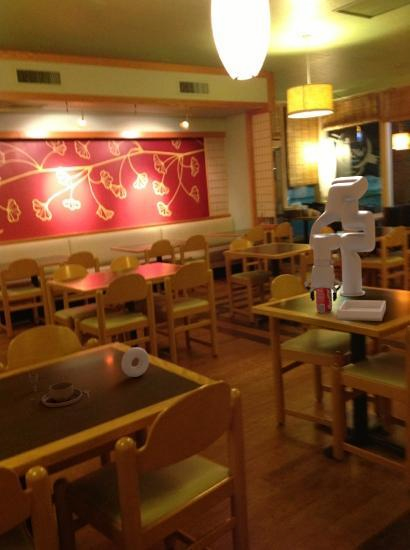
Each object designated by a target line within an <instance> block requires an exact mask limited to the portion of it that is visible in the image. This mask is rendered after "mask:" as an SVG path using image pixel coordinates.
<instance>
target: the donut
mask: <svg viewBox="0 0 410 550" xmlns="http://www.w3.org/2000/svg"><path fill="white" fill-rule="evenodd" d="M135 358H138V364H137V365H136V366H133V365H132V364H133V363H132V362H133V360H134V359H135ZM149 364H150V358H149V354H148V353H147V351H146V350H145V349H144V348H142V347H140V346H139V347H137V346H136V347H131V348H129V349H128V350H127V351H125V352H124V354H123V356H122V359H121V370H122V371H123V372H124V374H125V375H127V376H128V377H130V378H137V377H140V376H141V375H143V374H144V373H145V372H146V371H147V370H148V368H149V366H150V365H149Z"/></svg>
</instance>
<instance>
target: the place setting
mask: <svg viewBox="0 0 410 550" xmlns="http://www.w3.org/2000/svg"><path fill="white" fill-rule="evenodd" d="M28 377H29V381H30V383H31V384H32V386H33V387H32V389H33V392H37V391H38V390H37V383H38V379H39V378H38V374H37V373H30V374H29V375H28ZM48 390H49V392H48V393H46V394H45V395H43V396H42V397H41V401H42V404H43V405H44V406H46V407H50V408H60V407H61V408H62V407H65V406H70V405H73V404H75V403H77V402H78V401H80V400H81V399H82V397H83V394H85V395H86V396H87V398H91V397H90V395H89V393H90V390H89V388H84V390H81V389H79V388H74V385H73V383H72V382H71V381H60V382H57V383H54V384H52V385H51V384H50V386H49V387H48ZM73 394H75V395H77V397H76V398H74V399H70V398H71V397H72V396H73ZM50 398H51V399H53V400H54V401H55V402H56V403H55V402H54V403H52V402H46V401H47V400H49V399H50ZM69 399H70V400H69ZM32 400H36V398H35V397H33V398H30V401H32Z"/></svg>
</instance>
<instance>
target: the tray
mask: <svg viewBox="0 0 410 550" xmlns="http://www.w3.org/2000/svg"><path fill="white" fill-rule="evenodd" d="M386 310H387V301H386V300H366V299H363V300H359V299H357V300H356V299H344V301H342V303H341V305H340V306H339V307H338V308H337V310H336V311H337V312H336V315H337V316H336V318H337V320H339V321H340V320H341V321H342V320H343V321H374V322H375V321H376V322H382V321H383V318H384V316H385V313H386Z"/></svg>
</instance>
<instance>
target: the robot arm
mask: <svg viewBox="0 0 410 550" xmlns="http://www.w3.org/2000/svg"><path fill="white" fill-rule="evenodd" d="M368 188H369V182H368V179H367V177H365V176H361V175H360V176H359V175H356V176H344V177H343V176H342V177H337V178H334V179H333V180H332V182H331V186H330V187H329V188H328V191H327V197H326V203H325V206H324V212H323V213H322V214H321V215H320V216H319V217H318V218H317V219H316V220H315V222H313V224H312V226H311V230H310V234H309V242H308V243H309V247H310V248H311V249H312V250H313V266H312V268H311V278H310V279H308V280H307V281H306V280H305V281H304V282H303V285H304V286H305V288H306V290H307V291H308V293H310V297H309V298H310V300H311V302H313V301H316V296H315V291H314V290H316V289H317V288H319V287H326V288H328V289H330V288H331V290H332V302H336V301H337V299H338V291H339V290H340V289H341V288H342V290H341V291H340V292H339V295H340V296H342V297H352V298H353V297H360V296H364V295H366V291H365V290H363V280H362V279H363V278H362V258H361V257H360V255H359V253H360V252H361V253H364V252H366V253H367V252H368V253H369V252H372V251H373V250H374V249H375V247H376V220H375V215H374V213H373V212H372V211H370V210H360V209H359V208H360V207H359V200H360V199H361V198H362V197H363V196H364V195H365V193H366V192H367V190H368ZM340 219H341V226H342V229H344V230H346V231H363V232H345V233H343V234H342V235H339V234H337V233H321V231H322V230H323V229H324V228H325V227H327V226H328V225H330V224H332V223H334V222H336V221H338V220H340ZM338 249H340V254H341V255H340V256H341V271H342V272H341V273H342V276H341V277H342V281H341V280H339V279H337V278H336V276H335V275H336V274H335V269H334V266H333V264H335V260H332V255H331V253H332V252H331V251H337V250H338ZM358 252H359V253H358ZM309 284H311V286H310V285H309ZM336 284H338V285H337V287H336Z"/></svg>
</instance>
